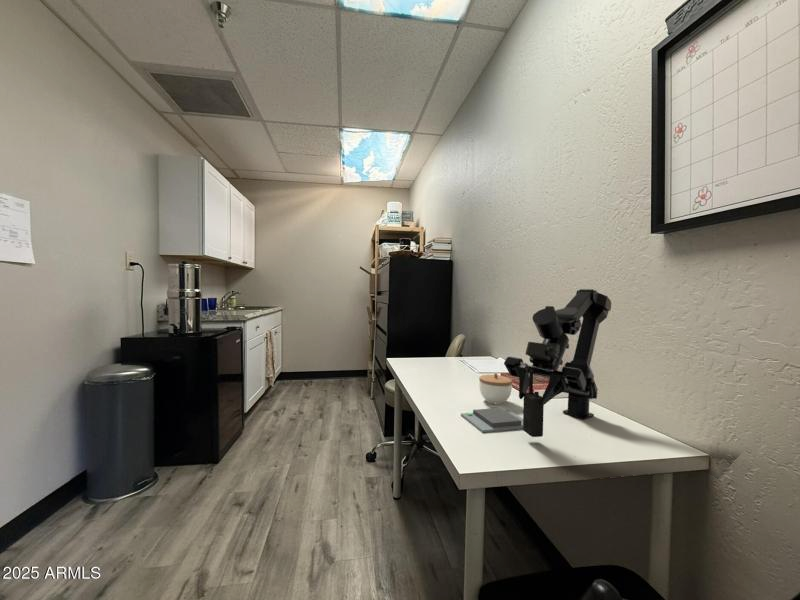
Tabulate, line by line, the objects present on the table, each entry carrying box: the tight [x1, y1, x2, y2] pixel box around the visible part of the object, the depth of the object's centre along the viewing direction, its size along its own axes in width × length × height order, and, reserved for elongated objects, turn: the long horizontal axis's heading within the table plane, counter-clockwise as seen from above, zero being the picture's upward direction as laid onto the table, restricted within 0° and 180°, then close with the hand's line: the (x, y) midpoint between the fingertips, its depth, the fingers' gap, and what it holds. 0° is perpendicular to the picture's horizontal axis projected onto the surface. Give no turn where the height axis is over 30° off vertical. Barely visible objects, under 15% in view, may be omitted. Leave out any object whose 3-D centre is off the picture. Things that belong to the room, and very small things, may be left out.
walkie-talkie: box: [522, 370, 545, 438], centre depth 79 cm, size 5×3×15 cm
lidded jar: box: [478, 372, 513, 405], centre depth 109 cm, size 11×11×9 cm
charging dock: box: [460, 407, 523, 433], centre depth 91 cm, size 16×12×2 cm
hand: (530, 401), depth 78 cm, fingers closed on walkie-talkie, 5 cm apart
